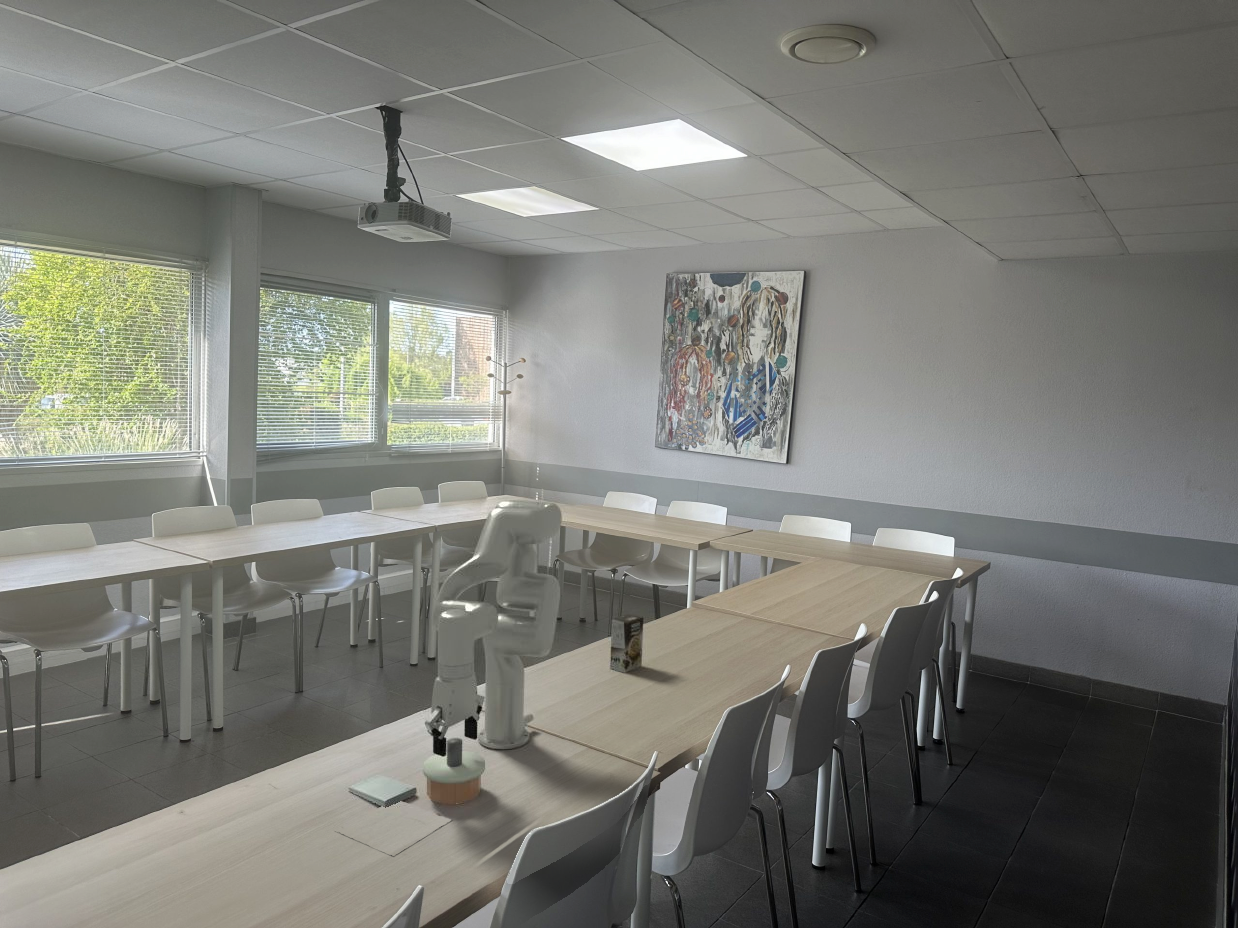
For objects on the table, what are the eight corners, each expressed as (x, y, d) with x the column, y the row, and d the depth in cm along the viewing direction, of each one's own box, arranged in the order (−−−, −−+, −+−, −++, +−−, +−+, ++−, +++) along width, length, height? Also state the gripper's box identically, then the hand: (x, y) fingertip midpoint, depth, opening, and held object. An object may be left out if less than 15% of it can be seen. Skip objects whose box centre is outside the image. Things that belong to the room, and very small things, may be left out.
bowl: (452, 777, 185) (452, 753, 185) (490, 790, 180) (490, 766, 179) (416, 796, 176) (416, 771, 175) (455, 811, 170) (456, 785, 170)
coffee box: (625, 673, 258) (627, 622, 257) (609, 668, 262) (610, 618, 260) (642, 666, 265) (644, 616, 264) (626, 661, 269) (628, 613, 268)
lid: (452, 750, 186) (452, 723, 186) (497, 765, 180) (498, 737, 179) (410, 772, 175) (410, 744, 175) (456, 789, 169) (457, 759, 168)
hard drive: (416, 786, 176) (380, 772, 183) (384, 800, 169) (348, 785, 177) (416, 794, 176) (380, 780, 183) (385, 808, 169) (348, 793, 177)
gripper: (469, 654, 185) (469, 727, 187) (413, 677, 170) (413, 756, 172) (496, 660, 181) (495, 735, 183) (440, 684, 166) (440, 766, 168)
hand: (455, 745), depth 177 cm, fingers open, 9 cm apart
